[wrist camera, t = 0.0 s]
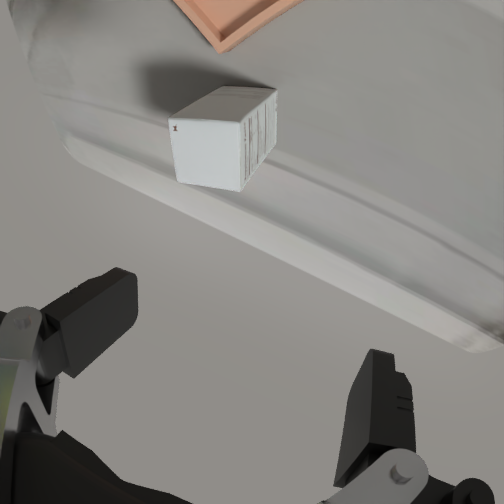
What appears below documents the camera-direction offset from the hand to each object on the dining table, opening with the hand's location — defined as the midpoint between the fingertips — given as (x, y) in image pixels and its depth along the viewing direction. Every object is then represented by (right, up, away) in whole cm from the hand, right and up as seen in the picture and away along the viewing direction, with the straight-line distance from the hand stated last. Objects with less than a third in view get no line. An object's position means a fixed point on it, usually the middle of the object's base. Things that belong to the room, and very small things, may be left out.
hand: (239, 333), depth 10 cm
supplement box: (0, +20, +28) cm, 34 cm away
